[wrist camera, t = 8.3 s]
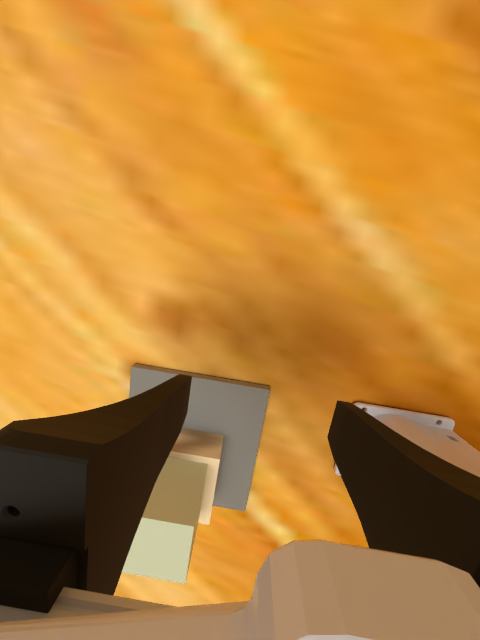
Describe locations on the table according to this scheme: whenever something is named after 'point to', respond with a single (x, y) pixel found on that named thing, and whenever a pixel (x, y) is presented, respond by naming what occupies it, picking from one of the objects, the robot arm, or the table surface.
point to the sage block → (169, 523)
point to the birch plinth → (201, 461)
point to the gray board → (219, 424)
